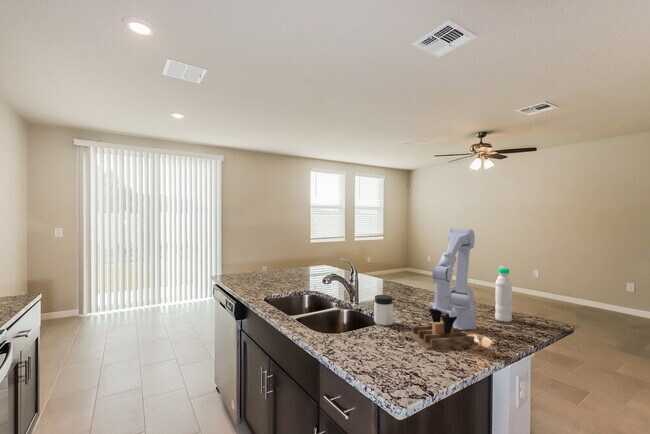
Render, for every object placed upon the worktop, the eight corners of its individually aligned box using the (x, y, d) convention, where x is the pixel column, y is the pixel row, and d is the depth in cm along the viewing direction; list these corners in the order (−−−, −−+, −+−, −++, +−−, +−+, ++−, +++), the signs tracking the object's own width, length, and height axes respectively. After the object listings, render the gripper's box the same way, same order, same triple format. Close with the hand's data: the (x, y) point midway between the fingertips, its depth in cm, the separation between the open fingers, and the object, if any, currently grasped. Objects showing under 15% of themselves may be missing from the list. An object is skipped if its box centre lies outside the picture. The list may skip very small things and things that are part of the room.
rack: (454, 331, 135) (454, 323, 135) (478, 345, 121) (478, 336, 121) (407, 334, 131) (407, 326, 131) (426, 349, 116) (426, 340, 116)
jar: (382, 326, 140) (382, 300, 140) (370, 321, 147) (370, 296, 147) (396, 323, 145) (396, 297, 145) (384, 318, 152) (384, 293, 152)
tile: (449, 336, 128) (449, 321, 128) (453, 338, 126) (453, 323, 126) (432, 337, 126) (432, 322, 126) (435, 339, 124) (435, 324, 124)
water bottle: (496, 321, 150) (496, 268, 150) (494, 316, 156) (494, 266, 156) (513, 323, 147) (513, 269, 147) (510, 318, 154) (510, 267, 154)
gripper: (423, 292, 132) (423, 324, 132) (443, 300, 118) (443, 337, 118) (438, 291, 134) (438, 323, 134) (460, 300, 119) (460, 335, 119)
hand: (441, 329), depth 126 cm, fingers open, 7 cm apart
